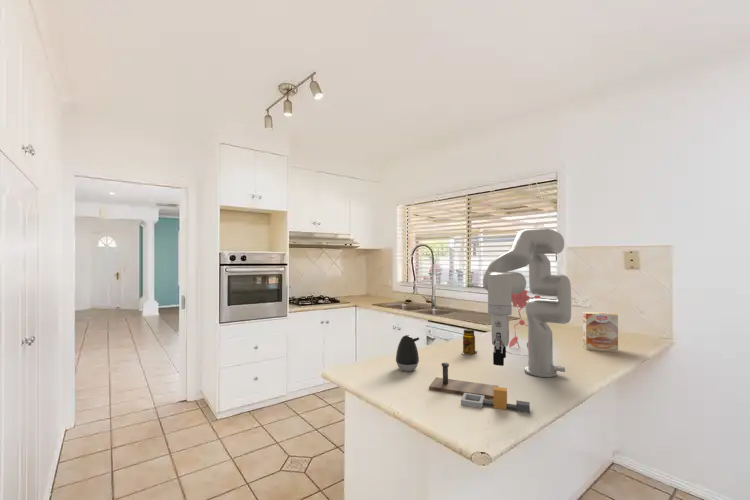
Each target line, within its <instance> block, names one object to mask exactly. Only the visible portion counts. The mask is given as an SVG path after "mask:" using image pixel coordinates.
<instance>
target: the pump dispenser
mask: <svg viewBox="0 0 750 500" xmlns="http://www.w3.org/2000/svg"><path fill="white" fill-rule="evenodd" d="M417 341H420V337H415V338H413V337H412V336H411V335H409V334H406V335H404V336H402V337H401V339H400V341H399V342H398V346H397V350H396V355H395V362H396V365H397V367H398V368H399V370H401V371H403V372H412V371H414V370H416V369H417V367H418V364H419V363H420V357H419V351H418V346H417V344H416V342H417Z"/></svg>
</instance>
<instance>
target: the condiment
mask: <svg viewBox="0 0 750 500" xmlns="http://www.w3.org/2000/svg"><path fill="white" fill-rule="evenodd" d="M462 352H463V353H464V354H463V355H466V356H477V353H478V351H477V350H476V336H475V330H474V329H472V328H471V329H470V328H468V329H467V328H466V329H464V330H463V334H462Z"/></svg>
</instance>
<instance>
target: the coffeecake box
mask: <svg viewBox="0 0 750 500" xmlns="http://www.w3.org/2000/svg"><path fill="white" fill-rule="evenodd" d="M582 347H583V348H584V349H585V350H586V351H595V352H596V351H599V352H612V353H613V352H614V353H618V352H619V315H618V314H617V313H614V312H603V311H602V312H601V311H599V312H597V311H582Z"/></svg>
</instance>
